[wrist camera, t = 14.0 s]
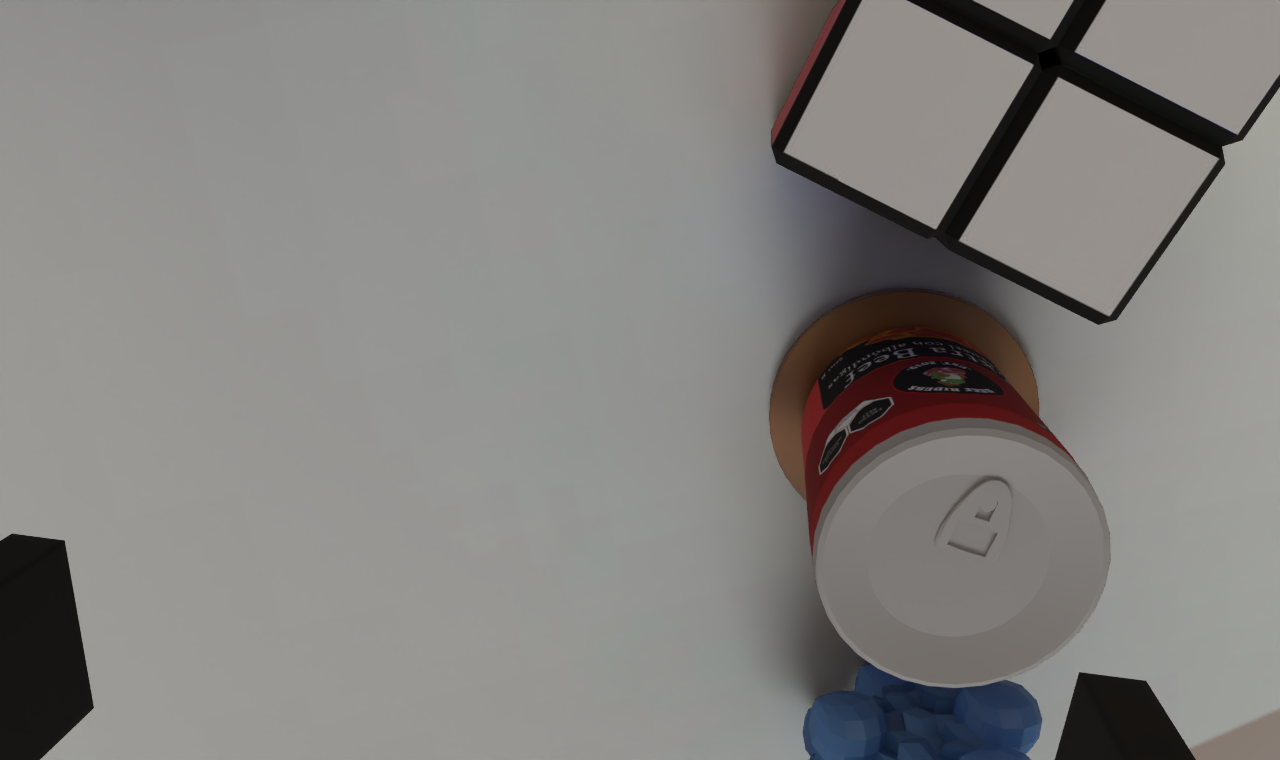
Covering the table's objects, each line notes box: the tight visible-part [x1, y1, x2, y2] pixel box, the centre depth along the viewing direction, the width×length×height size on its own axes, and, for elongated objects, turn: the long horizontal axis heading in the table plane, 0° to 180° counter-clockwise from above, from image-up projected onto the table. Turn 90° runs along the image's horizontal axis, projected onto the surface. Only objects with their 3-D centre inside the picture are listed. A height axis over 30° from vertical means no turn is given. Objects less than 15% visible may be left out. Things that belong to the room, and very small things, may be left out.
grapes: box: [803, 663, 1042, 760], centre depth 32 cm, size 12×7×12 cm, turn 136°
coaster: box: [769, 289, 1039, 501], centre depth 34 cm, size 10×10×1 cm
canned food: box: [801, 327, 1111, 688], centre depth 29 cm, size 8×8×11 cm
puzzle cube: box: [771, 0, 1280, 325], centre depth 26 cm, size 10×10×10 cm
